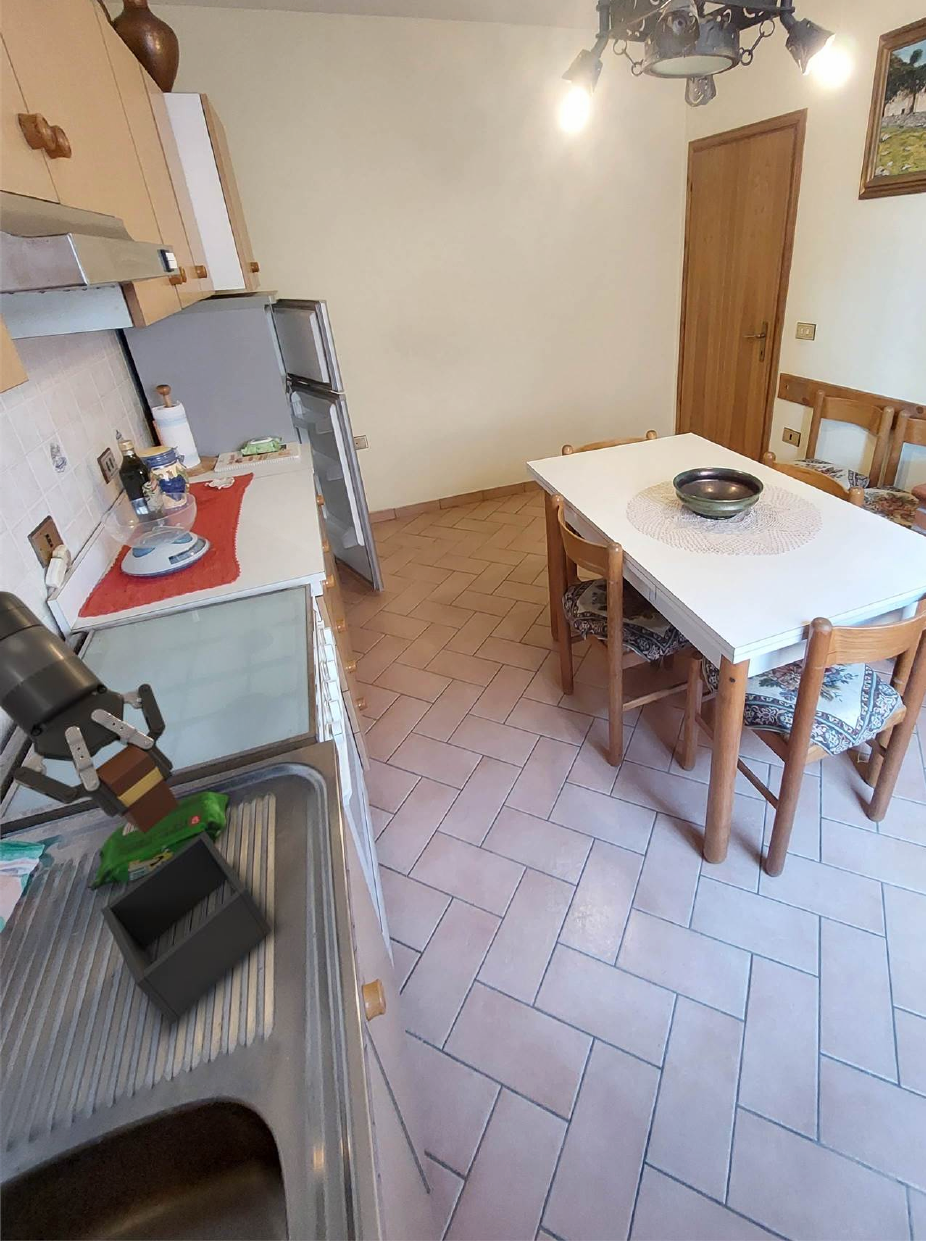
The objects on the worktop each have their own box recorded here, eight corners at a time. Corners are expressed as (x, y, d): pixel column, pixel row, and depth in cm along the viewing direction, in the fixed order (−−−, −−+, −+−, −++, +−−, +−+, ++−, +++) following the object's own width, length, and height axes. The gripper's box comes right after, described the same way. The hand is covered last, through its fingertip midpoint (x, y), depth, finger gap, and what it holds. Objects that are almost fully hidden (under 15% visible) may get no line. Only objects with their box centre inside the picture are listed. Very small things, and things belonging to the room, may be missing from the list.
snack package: (106, 857, 77) (87, 834, 75) (232, 799, 83) (219, 776, 81) (99, 906, 72) (79, 883, 69) (235, 841, 78) (221, 817, 75)
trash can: (176, 1029, 60) (136, 984, 55) (139, 956, 66) (100, 909, 61) (275, 936, 67) (246, 888, 62) (233, 877, 73) (204, 830, 69)
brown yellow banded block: (144, 835, 63) (109, 785, 59) (126, 821, 65) (91, 771, 61) (180, 804, 66) (149, 754, 62) (162, 791, 68) (131, 742, 64)
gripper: (-49, 717, 54) (76, 850, 55) (110, 626, 65) (214, 738, 65) (-39, 736, 59) (75, 858, 60) (106, 649, 70) (203, 753, 70)
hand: (147, 794), depth 62 cm, fingers closed on brown yellow banded block, 4 cm apart
